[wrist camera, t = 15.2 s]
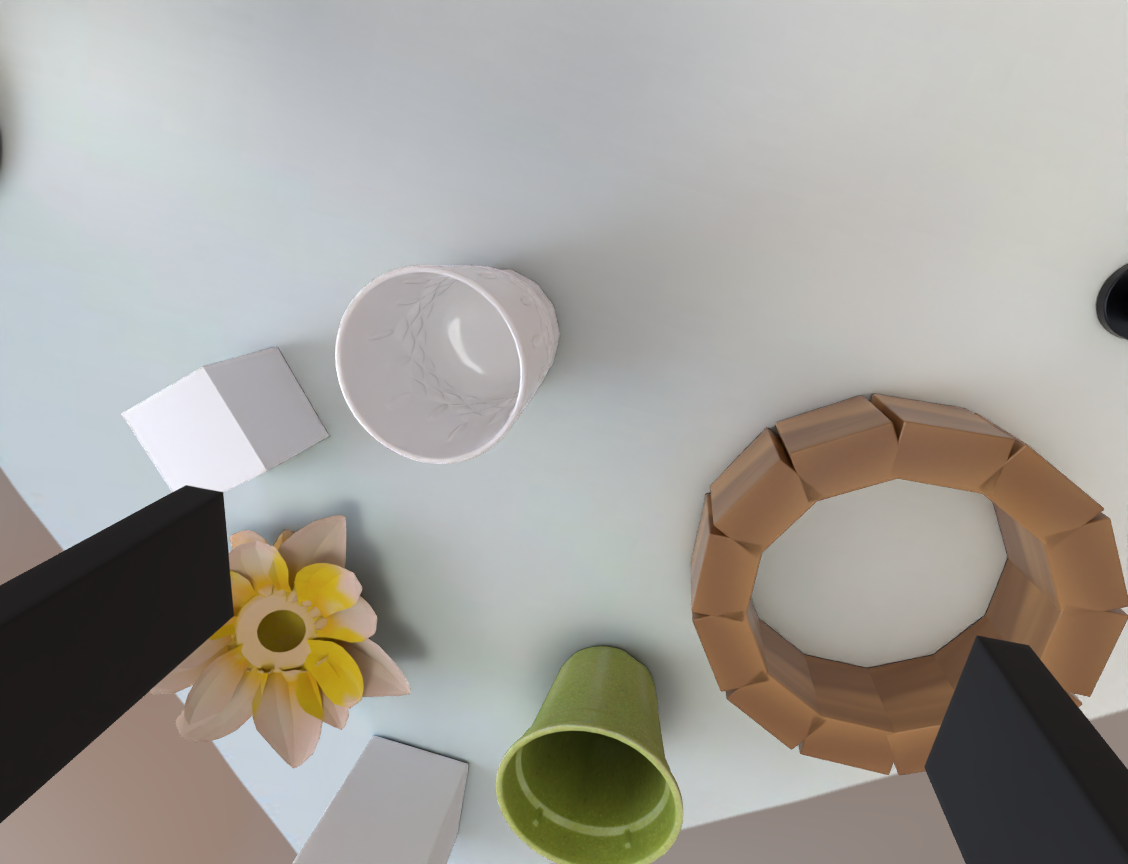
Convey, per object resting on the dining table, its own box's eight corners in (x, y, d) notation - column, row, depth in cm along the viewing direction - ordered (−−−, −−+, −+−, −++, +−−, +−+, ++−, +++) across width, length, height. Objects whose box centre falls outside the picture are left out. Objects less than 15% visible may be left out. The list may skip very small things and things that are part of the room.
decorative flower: (442, 721, 40) (326, 851, 32) (317, 704, 45) (187, 812, 37) (383, 499, 38) (236, 575, 29) (256, 508, 43) (100, 575, 34)
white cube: (276, 345, 37) (203, 365, 31) (329, 435, 38) (267, 470, 32) (202, 387, 38) (120, 413, 33) (255, 472, 40) (184, 511, 34)
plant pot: (694, 744, 40) (697, 876, 31) (551, 750, 42) (518, 875, 34) (669, 614, 37) (664, 721, 29) (518, 628, 39) (475, 730, 31)
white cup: (596, 300, 33) (561, 327, 23) (532, 427, 35) (477, 497, 26) (463, 229, 33) (373, 227, 23) (409, 361, 35) (309, 406, 26)
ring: (732, 370, 32) (740, 393, 28) (1120, 433, 30) (1200, 470, 25) (669, 662, 38) (666, 722, 33) (989, 735, 36) (1035, 810, 31)
